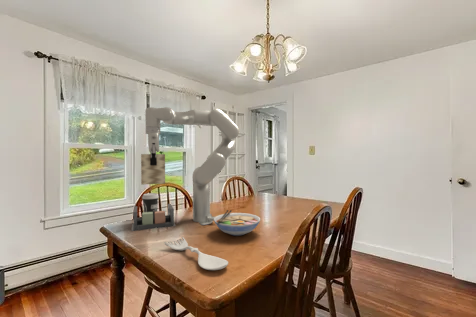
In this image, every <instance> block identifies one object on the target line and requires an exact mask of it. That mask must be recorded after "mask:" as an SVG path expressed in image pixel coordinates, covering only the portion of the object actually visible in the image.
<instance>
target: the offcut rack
mask: <svg viewBox="0 0 476 317" xmlns="http://www.w3.org/2000/svg"><path fill="white" fill-rule="evenodd" d="M174 212H175V211H174V207H173V205H172V203H167V214H165V223H157V224H155V216H154V217H153V224H148V225H142V217H138V206H133V214H132V216H133V218H132V219H133V220H132V221H133V222H132V224H131V229H130V230H131V232H136V231H145V230H154V229H163V228H171V227H177V225H176V223H175V219H174V218H175V216H174V215H175V213H174Z"/></svg>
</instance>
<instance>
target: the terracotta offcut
mask: <svg viewBox="0 0 476 317" xmlns="http://www.w3.org/2000/svg"><path fill="white" fill-rule="evenodd" d="M165 215H166V211H165V210H157V211H156V212H155V224H157V223H165Z"/></svg>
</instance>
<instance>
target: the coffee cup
mask: <svg viewBox="0 0 476 317" xmlns="http://www.w3.org/2000/svg"><path fill="white" fill-rule="evenodd" d="M159 198H160V196H159V195H158V193H156V192H154V193H153V192H151V193H150V192H149V193H144V194H142V197H141V199H142V203H143V204H142V205H143V213H144V212H153V217H154V216H155V212H156V211H158V204H159V202H158V201H159Z"/></svg>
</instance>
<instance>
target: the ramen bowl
mask: <svg viewBox="0 0 476 317" xmlns="http://www.w3.org/2000/svg"><path fill="white" fill-rule="evenodd" d="M213 222H214V223H215V226H217V227H218V228H219V230H220V231H221V232H223V233H226V234H228V235H231V236H233V237H234V236H235V237H239V236H244V235H245V234H249V233H251V232H252V231H254V230H255V229H256V228H257V226H258V225H259V224H260V222H261V217H259V216H258V215H256V214H252V213H247V212H232V210H228V209H227V210H226V212H224V213H223V214H219V215H216V216H214V221H213Z"/></svg>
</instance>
